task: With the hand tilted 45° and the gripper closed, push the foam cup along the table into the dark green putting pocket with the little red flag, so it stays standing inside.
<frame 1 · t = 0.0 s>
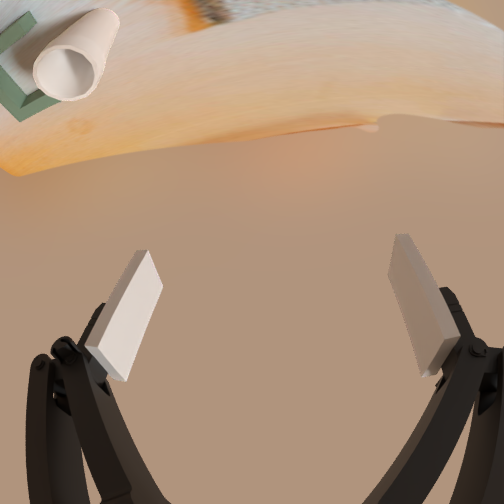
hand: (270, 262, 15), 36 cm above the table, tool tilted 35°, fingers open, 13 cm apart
foam cup: (100, 23, 27), on the table
putting pocket: (29, 63, 29), on the table
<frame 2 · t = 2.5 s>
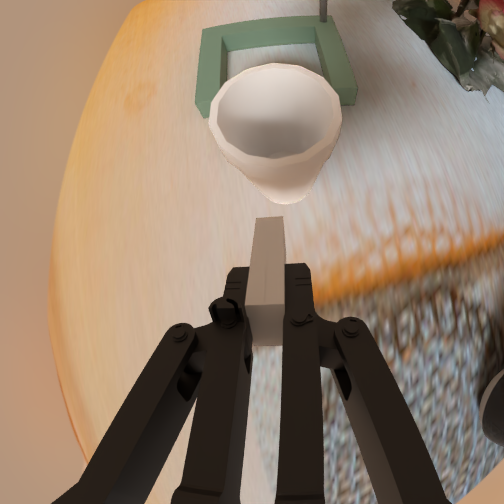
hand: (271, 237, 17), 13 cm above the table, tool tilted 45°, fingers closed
foam cup: (285, 177, 31), on the table
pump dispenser: (496, 395, 23), on the table
putting pocket: (274, 72, 33), on the table
rose bouquet: (472, 47, 29), on the table
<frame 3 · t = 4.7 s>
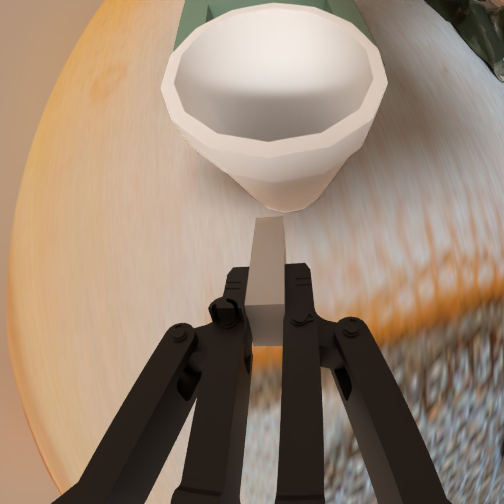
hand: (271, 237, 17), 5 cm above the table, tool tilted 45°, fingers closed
foam cup: (286, 175, 23), on the table, touching gripper
putting pocket: (273, 46, 25), on the table
rose bouquet: (498, 35, 21), on the table
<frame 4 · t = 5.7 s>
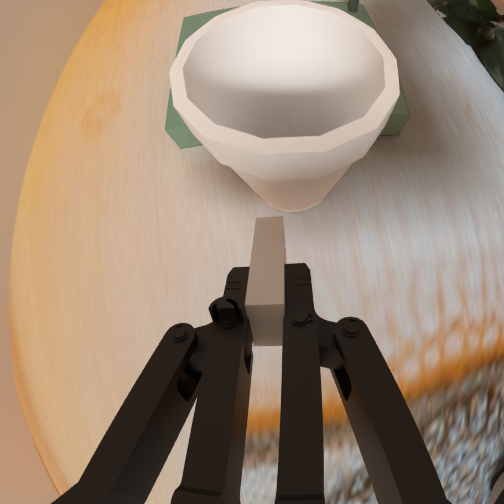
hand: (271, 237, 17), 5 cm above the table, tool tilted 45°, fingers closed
foam cup: (292, 175, 22), on the table, touching gripper
putting pocket: (283, 78, 23), on the table
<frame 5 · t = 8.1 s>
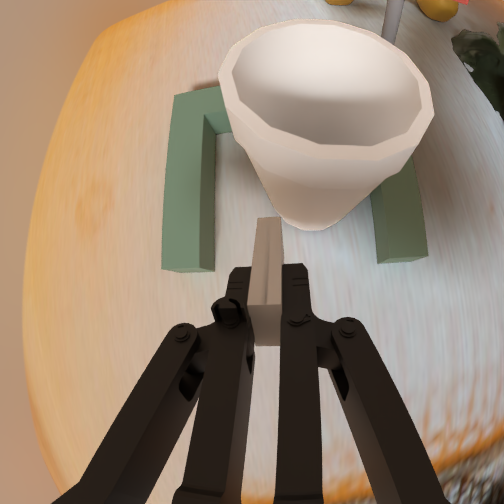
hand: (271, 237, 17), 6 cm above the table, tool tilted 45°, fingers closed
foam cup: (310, 194, 23), on the table, touching gripper, putting pocket
putting pocket: (291, 187, 23), on the table
dumbbell: (385, 5, 25), on the table
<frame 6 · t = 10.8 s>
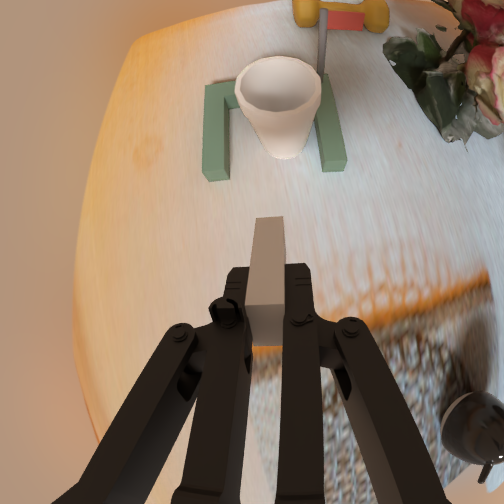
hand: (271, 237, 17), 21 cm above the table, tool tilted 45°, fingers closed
foam cup: (284, 141, 40), on the table
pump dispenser: (457, 415, 30), on the table
putting pocket: (272, 135, 40), on the table
dumbbell: (339, 24, 43), on the table
rose bouquet: (457, 90, 38), on the table
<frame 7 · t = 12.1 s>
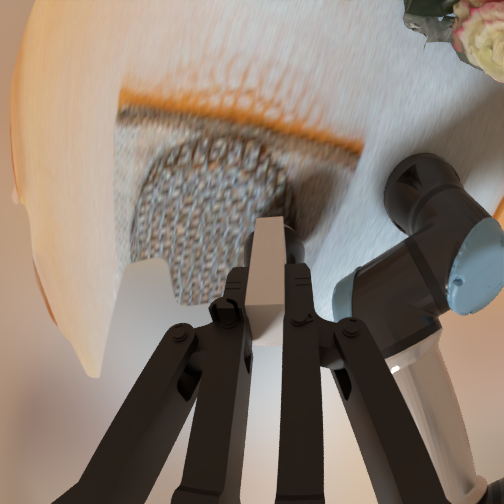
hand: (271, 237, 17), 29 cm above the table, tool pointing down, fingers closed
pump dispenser: (274, 237, 52), on the table
rose bouquet: (468, 8, 22), on the table
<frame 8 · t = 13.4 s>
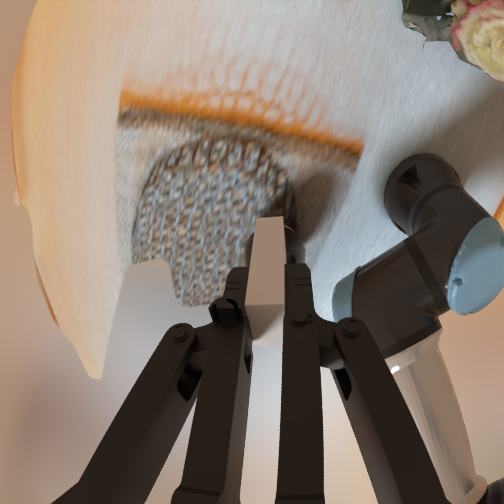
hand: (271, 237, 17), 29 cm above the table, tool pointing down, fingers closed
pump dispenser: (274, 238, 52), on the table
rose bouquet: (467, 7, 22), on the table
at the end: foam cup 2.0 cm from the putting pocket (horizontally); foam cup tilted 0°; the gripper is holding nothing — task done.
